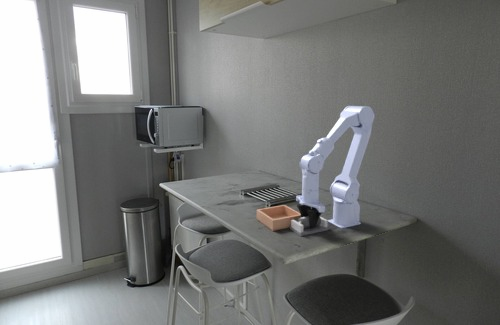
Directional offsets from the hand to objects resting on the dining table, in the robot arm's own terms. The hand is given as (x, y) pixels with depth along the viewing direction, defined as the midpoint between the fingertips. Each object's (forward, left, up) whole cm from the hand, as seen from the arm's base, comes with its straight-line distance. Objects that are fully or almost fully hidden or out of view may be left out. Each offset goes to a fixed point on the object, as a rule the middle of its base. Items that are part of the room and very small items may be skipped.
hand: (309, 225), depth 119 cm
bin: (+6, -11, -2) cm, 13 cm away
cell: (0, 0, +1) cm, 1 cm away
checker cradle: (0, 0, -2) cm, 2 cm away
